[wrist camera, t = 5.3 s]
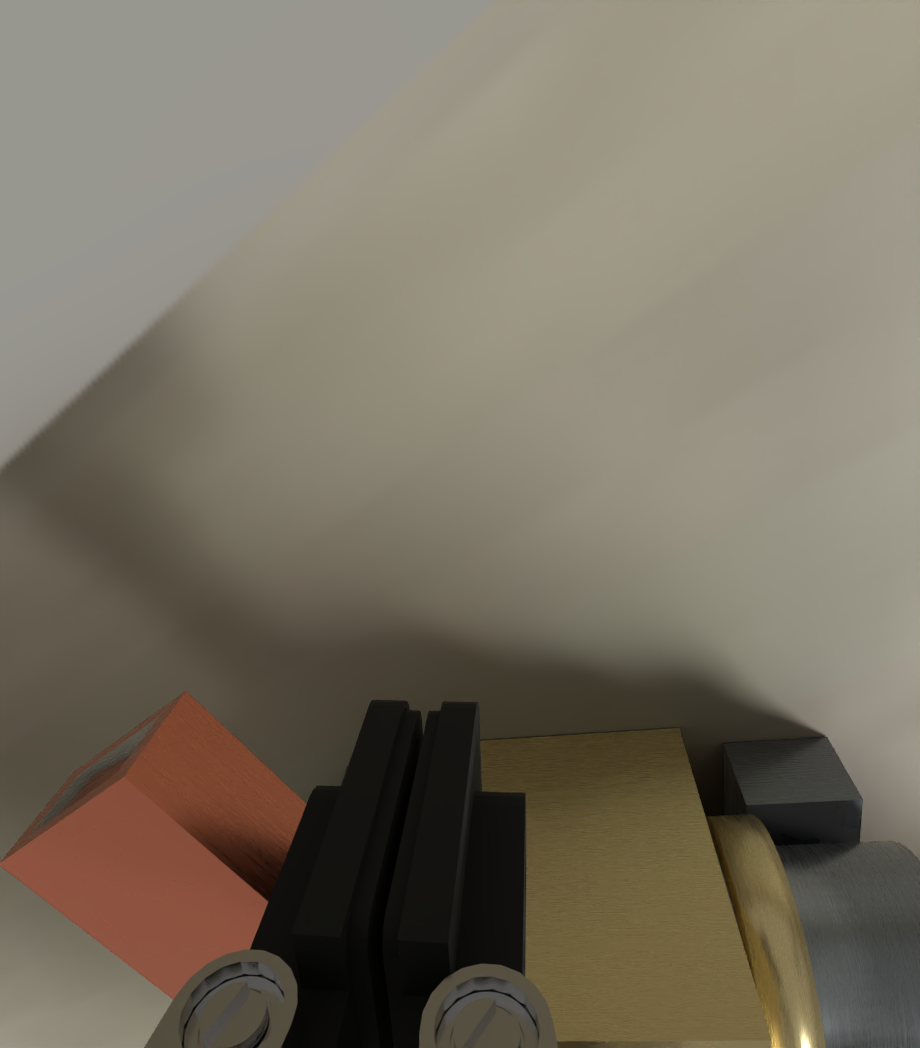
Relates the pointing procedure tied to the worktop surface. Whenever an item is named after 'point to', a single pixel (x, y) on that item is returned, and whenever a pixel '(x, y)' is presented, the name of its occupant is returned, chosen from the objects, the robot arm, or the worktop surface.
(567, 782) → the ball valve
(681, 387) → the worktop surface
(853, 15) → the worktop surface
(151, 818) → the valve lever
